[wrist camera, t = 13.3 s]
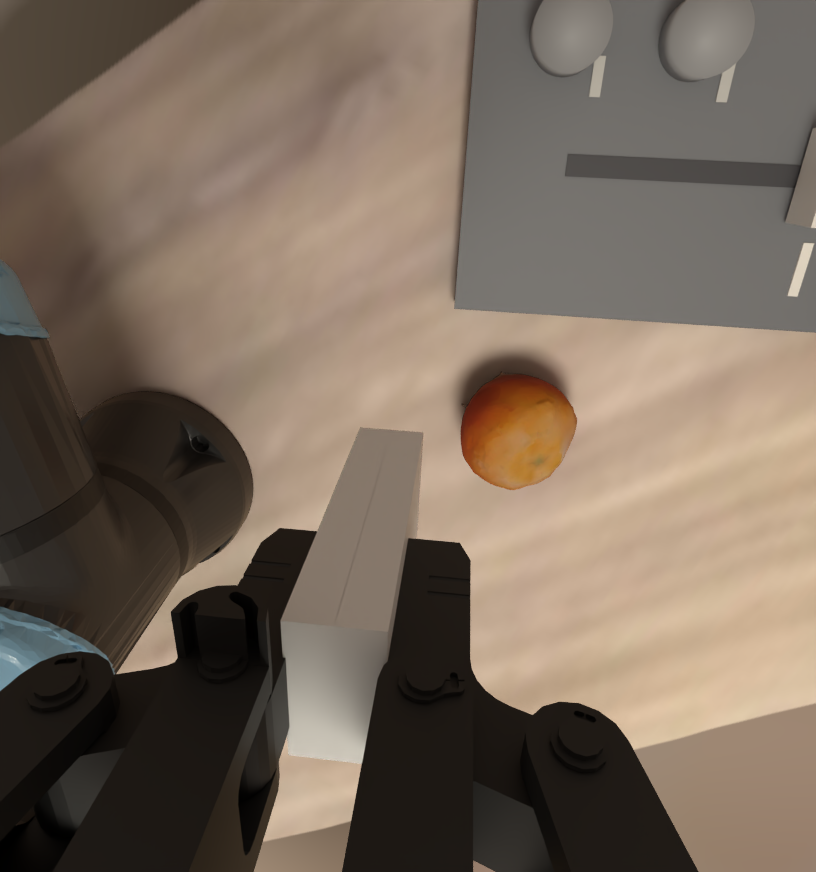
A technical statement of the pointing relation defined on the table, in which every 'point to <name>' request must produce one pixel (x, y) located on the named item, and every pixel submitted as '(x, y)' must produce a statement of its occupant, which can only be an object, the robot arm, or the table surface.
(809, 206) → the fader
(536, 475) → the fruit
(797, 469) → the table surface
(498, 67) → the console
